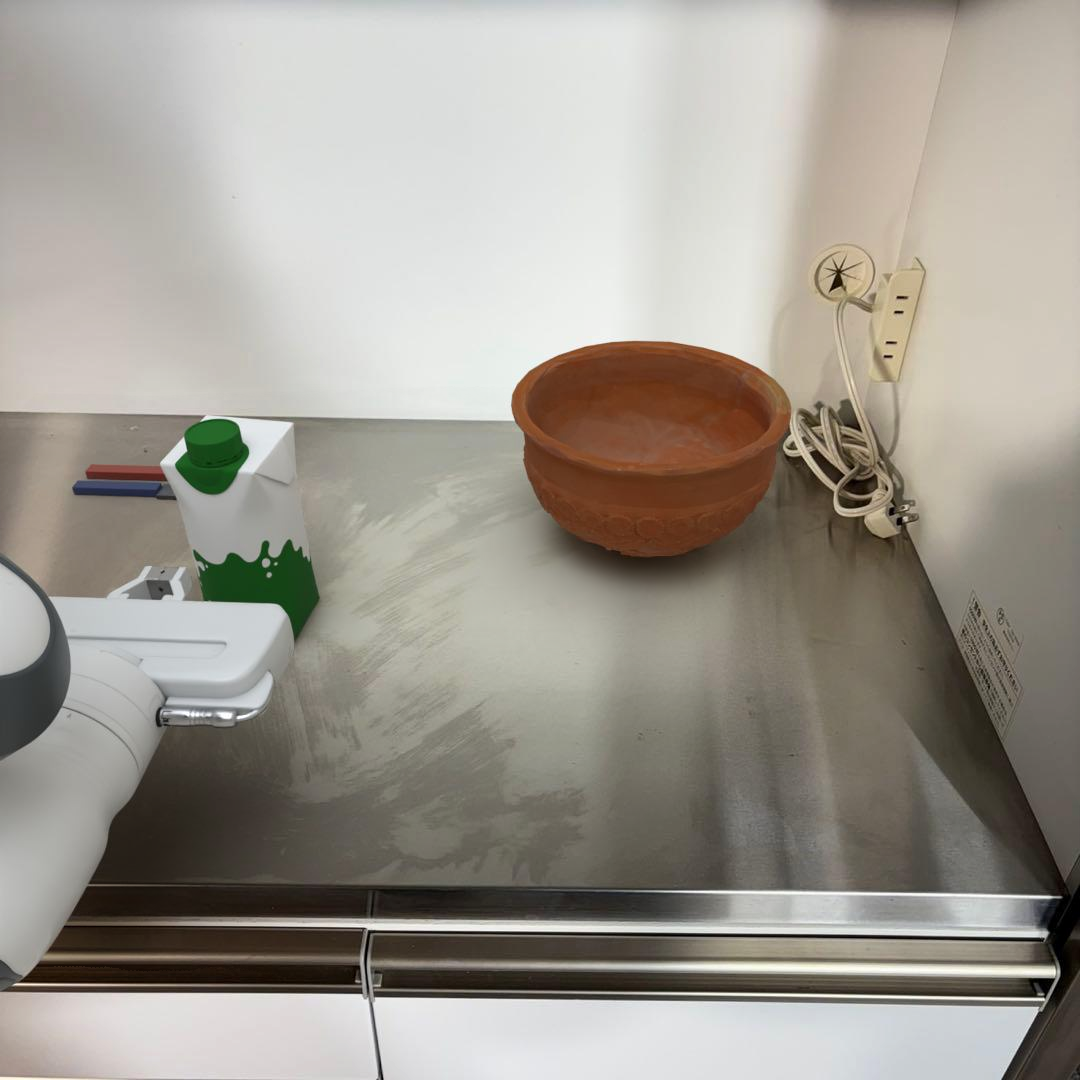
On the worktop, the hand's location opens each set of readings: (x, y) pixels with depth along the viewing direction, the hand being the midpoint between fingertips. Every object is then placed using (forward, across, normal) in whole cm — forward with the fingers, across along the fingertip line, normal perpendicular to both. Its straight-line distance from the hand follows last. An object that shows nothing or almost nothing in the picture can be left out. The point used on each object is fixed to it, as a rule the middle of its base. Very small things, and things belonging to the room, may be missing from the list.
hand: (170, 573), depth 67 cm
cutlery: (+33, +16, +14) cm, 39 cm away
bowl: (+27, -34, +14) cm, 46 cm away
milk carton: (+12, -1, +14) cm, 19 cm away
